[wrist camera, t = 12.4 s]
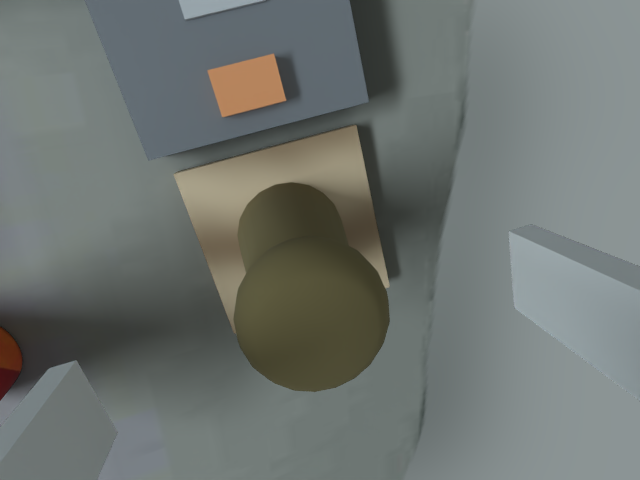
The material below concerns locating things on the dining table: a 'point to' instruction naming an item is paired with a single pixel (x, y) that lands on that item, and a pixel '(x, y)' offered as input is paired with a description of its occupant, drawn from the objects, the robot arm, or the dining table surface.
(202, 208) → the oak board
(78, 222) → the dining table surface
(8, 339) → the paper cup
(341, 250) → the olive knobbed peg
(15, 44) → the dining table surface
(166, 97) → the power strip
